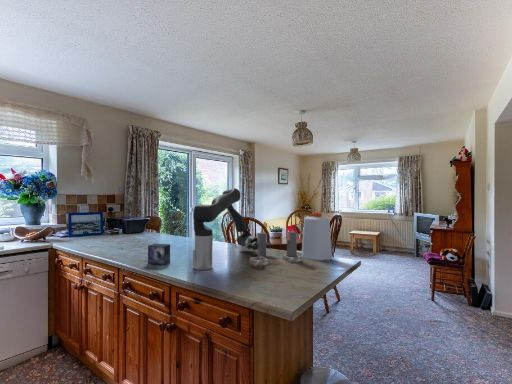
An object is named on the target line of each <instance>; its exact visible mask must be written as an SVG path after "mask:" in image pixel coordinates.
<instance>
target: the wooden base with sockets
mask: <svg viewBox="0 0 512 384" xmlns="http://www.w3.org/2000/svg"><path fill="white" fill-rule="evenodd" d="M302 258H303V257H302V255H298V254H297V257H288V256H287V254H282V257H281V258H279V259H268V258H267V257H266V258H265V257H257V256H254V257H253V256H252V257H249V261H248V262H249V263H248V265H249V266H250V267H252V268H253V269H266V266H269V265H270V266H271V265H279V264H281V265H282V264H288V263H289V264H290V263H299V262H303V260H302Z"/></svg>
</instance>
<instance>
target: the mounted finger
mask: <svg viewBox="0 0 512 384" xmlns="http://www.w3.org/2000/svg"><path fill="white" fill-rule="evenodd" d="M297 233H298V232H296V231H293V230H292V231H287V232H286V239H285V240H286V255H287V256H288V257H297V255H298V254H297V252H298V251H297V250H298V249H297V247H298V244H297V243H298V241H297V238H298V235H297Z"/></svg>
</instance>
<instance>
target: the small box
mask: <svg viewBox="0 0 512 384" xmlns="http://www.w3.org/2000/svg"><path fill="white" fill-rule="evenodd" d="M168 263H169V264H170V263H171V244H169V243H152V244H149V245H147V265H156V266H166V265H169V264H168Z"/></svg>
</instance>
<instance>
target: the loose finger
mask: <svg viewBox="0 0 512 384" xmlns="http://www.w3.org/2000/svg"><path fill="white" fill-rule="evenodd" d="M256 234H257V237H256V238H257V250H256V251H257V252H256V254H257V256H256V257H265V258H267V248H266V242H268V234H267V233H266V232H257V233H256Z"/></svg>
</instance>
